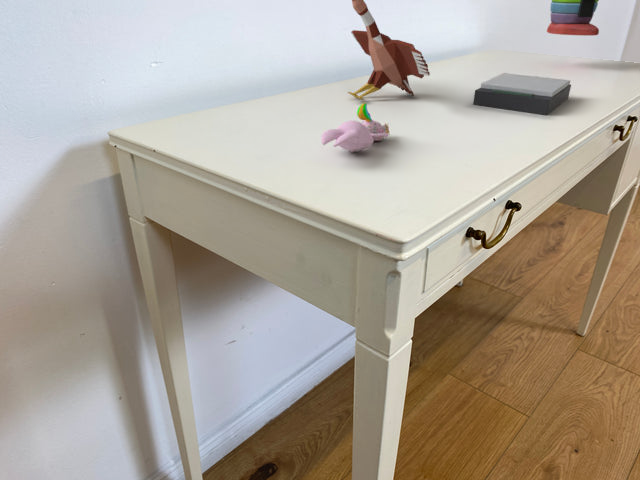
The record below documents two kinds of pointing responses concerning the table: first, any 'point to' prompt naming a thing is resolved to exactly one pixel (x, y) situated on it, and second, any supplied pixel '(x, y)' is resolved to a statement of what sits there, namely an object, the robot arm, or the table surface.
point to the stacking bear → (570, 19)
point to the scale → (523, 93)
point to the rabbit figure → (357, 132)
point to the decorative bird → (386, 56)
